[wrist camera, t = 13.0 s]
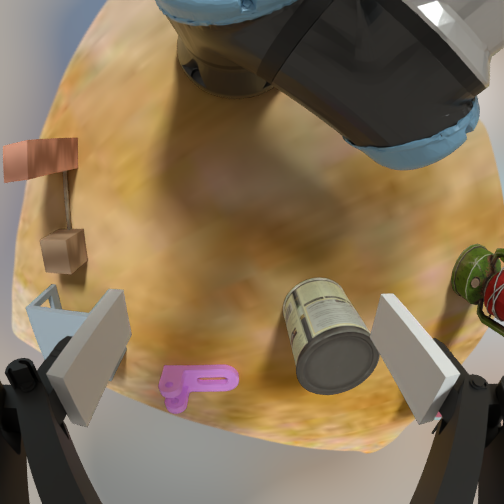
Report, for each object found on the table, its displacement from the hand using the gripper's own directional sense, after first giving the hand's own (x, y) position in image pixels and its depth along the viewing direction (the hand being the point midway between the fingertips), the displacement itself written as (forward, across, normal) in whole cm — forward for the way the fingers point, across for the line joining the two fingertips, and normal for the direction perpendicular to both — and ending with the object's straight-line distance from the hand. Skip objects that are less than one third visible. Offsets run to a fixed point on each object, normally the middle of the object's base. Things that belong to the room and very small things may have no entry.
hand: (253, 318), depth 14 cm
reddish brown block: (+27, -27, +1) cm, 38 cm away
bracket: (+27, -7, -30) cm, 41 cm away
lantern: (+27, +42, -9) cm, 51 cm away
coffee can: (+27, +11, -15) cm, 33 cm away
